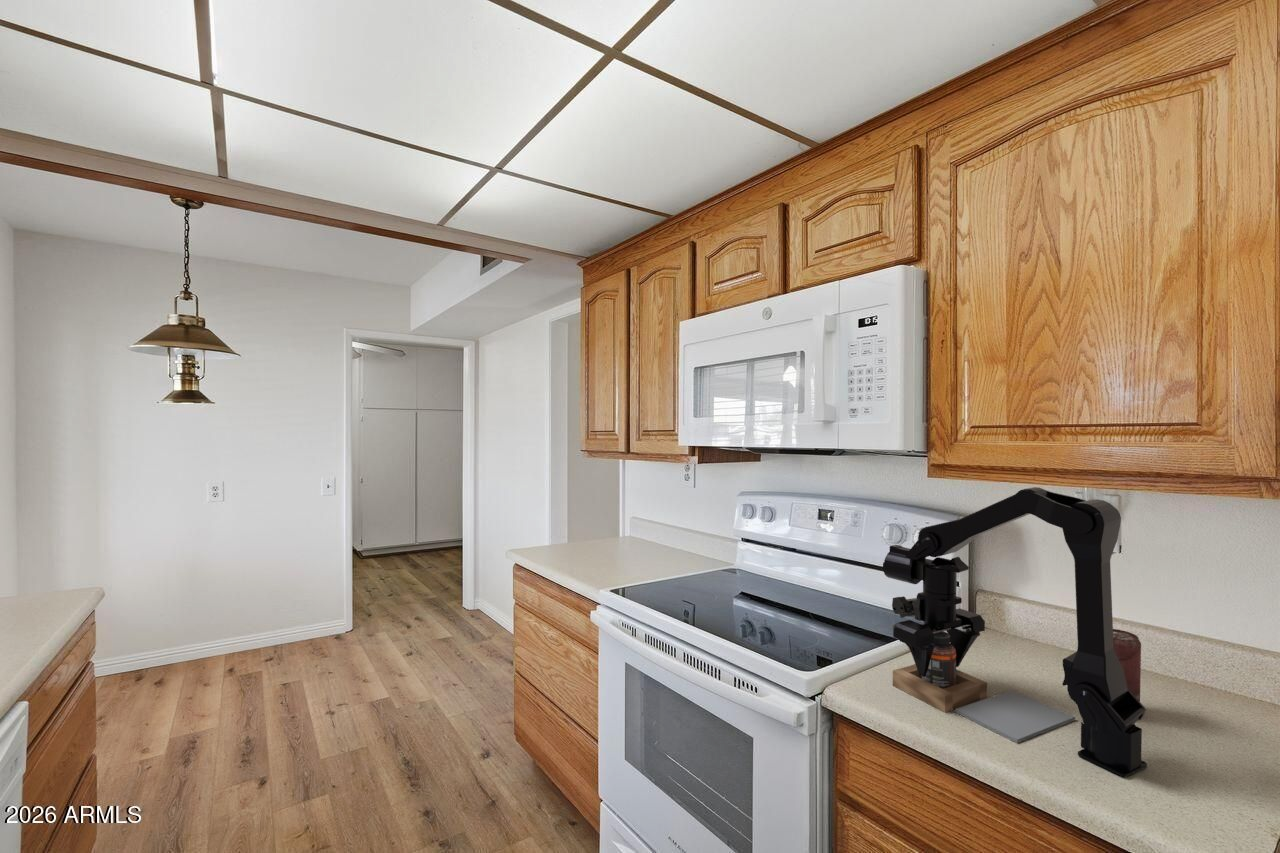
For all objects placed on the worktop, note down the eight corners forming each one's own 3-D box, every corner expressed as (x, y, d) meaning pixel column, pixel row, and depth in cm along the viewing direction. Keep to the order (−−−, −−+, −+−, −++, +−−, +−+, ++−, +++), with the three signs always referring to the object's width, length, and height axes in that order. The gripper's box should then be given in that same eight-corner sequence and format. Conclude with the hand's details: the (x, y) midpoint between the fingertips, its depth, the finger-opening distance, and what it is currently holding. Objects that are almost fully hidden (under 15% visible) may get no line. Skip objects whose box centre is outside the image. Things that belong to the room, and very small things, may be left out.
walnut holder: (986, 698, 111) (987, 682, 111) (944, 712, 106) (945, 695, 106) (933, 673, 122) (933, 659, 122) (892, 685, 117) (892, 670, 117)
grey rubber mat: (1075, 720, 103) (1075, 716, 103) (1016, 743, 96) (1016, 739, 96) (1012, 692, 113) (1012, 689, 113) (955, 712, 106) (955, 708, 106)
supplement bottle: (948, 685, 117) (948, 628, 116) (961, 700, 111) (962, 640, 110) (916, 684, 117) (917, 627, 117) (928, 699, 111) (928, 639, 111)
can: (1091, 710, 107) (1092, 633, 106) (1100, 699, 111) (1102, 624, 110) (1134, 724, 102) (1136, 643, 101) (1143, 711, 106) (1144, 634, 106)
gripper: (936, 573, 125) (935, 646, 125) (870, 585, 117) (870, 664, 117) (986, 587, 115) (986, 667, 115) (919, 602, 107) (918, 688, 107)
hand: (939, 670), depth 114 cm, fingers open, 9 cm apart
